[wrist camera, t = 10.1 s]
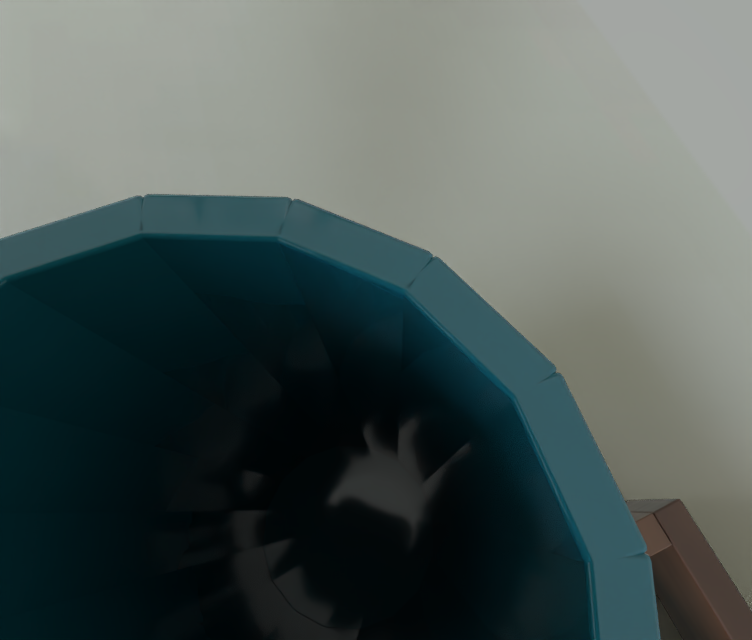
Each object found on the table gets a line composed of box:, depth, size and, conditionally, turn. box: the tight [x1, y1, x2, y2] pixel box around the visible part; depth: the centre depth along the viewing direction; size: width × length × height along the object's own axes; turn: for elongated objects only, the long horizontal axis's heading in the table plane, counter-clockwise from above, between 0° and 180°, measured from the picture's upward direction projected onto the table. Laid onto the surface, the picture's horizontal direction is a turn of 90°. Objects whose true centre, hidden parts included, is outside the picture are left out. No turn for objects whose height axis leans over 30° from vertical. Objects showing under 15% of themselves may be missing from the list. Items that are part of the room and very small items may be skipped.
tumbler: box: [0, 194, 661, 640], centre depth 9 cm, size 5×5×13 cm
